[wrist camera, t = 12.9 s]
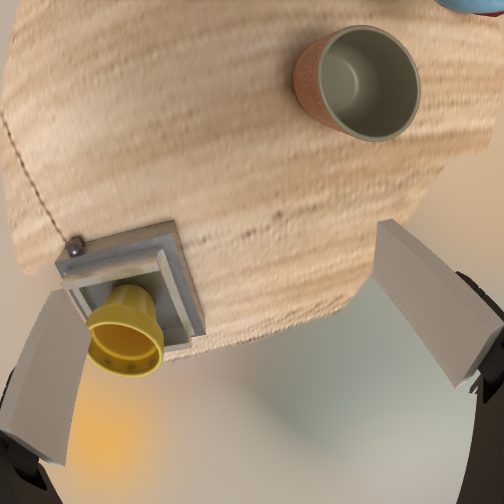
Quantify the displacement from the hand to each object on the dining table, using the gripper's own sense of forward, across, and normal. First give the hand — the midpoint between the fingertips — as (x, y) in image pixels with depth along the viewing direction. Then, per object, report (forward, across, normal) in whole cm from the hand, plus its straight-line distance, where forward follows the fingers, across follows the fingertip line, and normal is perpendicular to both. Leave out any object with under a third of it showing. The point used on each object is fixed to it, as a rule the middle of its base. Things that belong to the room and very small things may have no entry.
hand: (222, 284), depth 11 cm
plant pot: (+23, -15, -17) cm, 32 cm away
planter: (+27, +17, +7) cm, 33 cm away
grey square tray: (+27, -15, -17) cm, 35 cm away
